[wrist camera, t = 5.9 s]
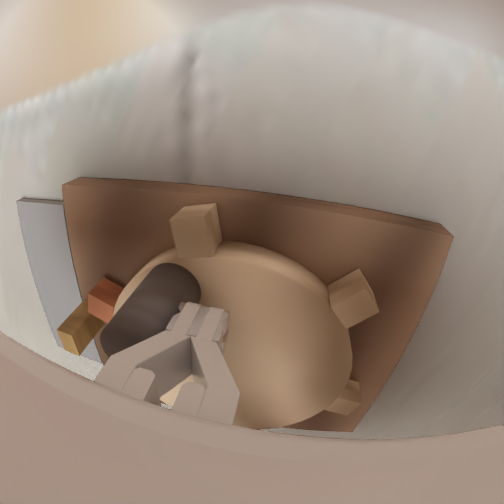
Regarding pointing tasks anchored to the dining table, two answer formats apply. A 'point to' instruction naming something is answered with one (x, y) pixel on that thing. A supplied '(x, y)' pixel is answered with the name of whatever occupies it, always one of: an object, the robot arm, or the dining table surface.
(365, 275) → the wheel base
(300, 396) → the index wheel
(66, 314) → the donut mat
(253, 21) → the dining table surface
